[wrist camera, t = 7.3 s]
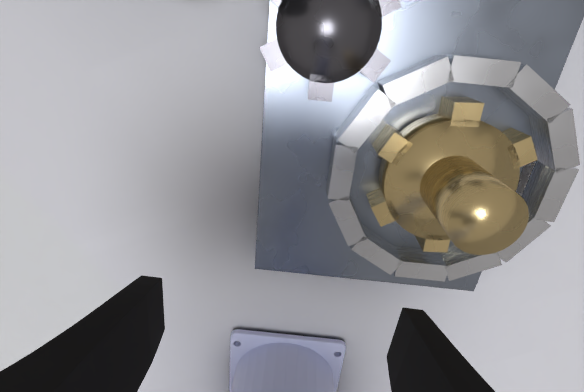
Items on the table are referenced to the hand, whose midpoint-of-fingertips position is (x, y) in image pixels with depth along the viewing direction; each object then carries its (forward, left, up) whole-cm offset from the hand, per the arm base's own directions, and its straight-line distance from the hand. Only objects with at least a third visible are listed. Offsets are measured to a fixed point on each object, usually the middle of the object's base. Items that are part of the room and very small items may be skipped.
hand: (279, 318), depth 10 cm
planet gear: (+2, -7, -9) cm, 11 cm away
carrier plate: (+3, -5, -10) cm, 11 cm away
